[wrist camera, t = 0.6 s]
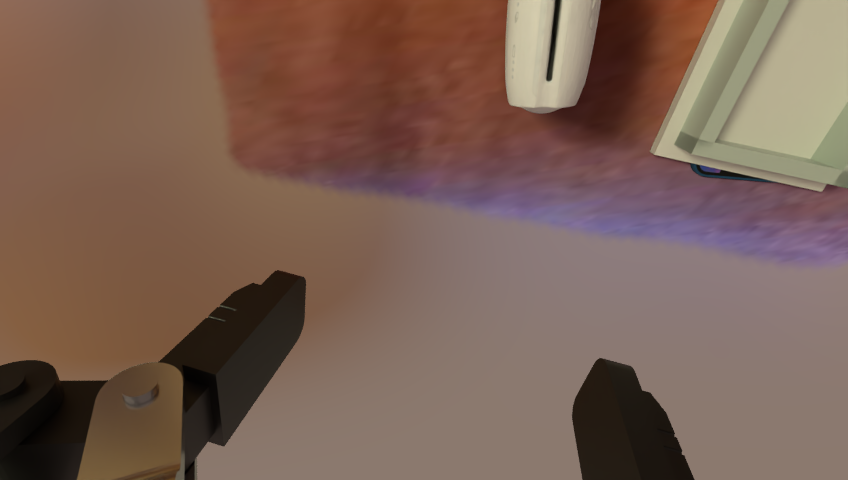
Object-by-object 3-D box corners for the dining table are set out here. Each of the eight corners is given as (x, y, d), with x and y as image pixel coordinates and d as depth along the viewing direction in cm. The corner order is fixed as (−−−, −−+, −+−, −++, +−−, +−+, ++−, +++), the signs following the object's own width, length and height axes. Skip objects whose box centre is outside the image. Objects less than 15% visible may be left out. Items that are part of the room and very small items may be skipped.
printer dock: (770, -115, 23) (819, -145, 19) (992, -78, 22) (1087, -104, 18) (649, 151, 30) (669, 164, 27) (812, 187, 29) (854, 206, 26)
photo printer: (511, -65, 26) (518, -151, 15) (579, -70, 25) (637, -163, 14) (501, 98, 30) (500, 123, 20) (559, 98, 30) (591, 124, 19)
